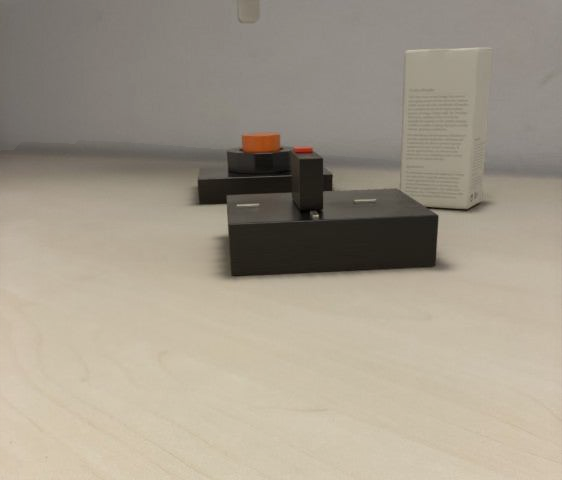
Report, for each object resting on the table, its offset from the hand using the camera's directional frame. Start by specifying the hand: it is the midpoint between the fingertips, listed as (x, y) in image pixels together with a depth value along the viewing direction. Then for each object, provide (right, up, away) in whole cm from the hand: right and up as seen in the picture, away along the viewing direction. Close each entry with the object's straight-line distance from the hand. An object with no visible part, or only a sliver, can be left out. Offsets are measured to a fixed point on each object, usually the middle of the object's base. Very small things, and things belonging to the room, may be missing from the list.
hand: (248, 22), depth 62 cm
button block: (+1, -14, +6) cm, 15 cm away
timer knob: (+5, -20, -18) cm, 28 cm away
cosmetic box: (+16, -17, -2) cm, 24 cm away
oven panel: (+6, -23, -17) cm, 29 cm away
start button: (+1, -10, +4) cm, 11 cm away
